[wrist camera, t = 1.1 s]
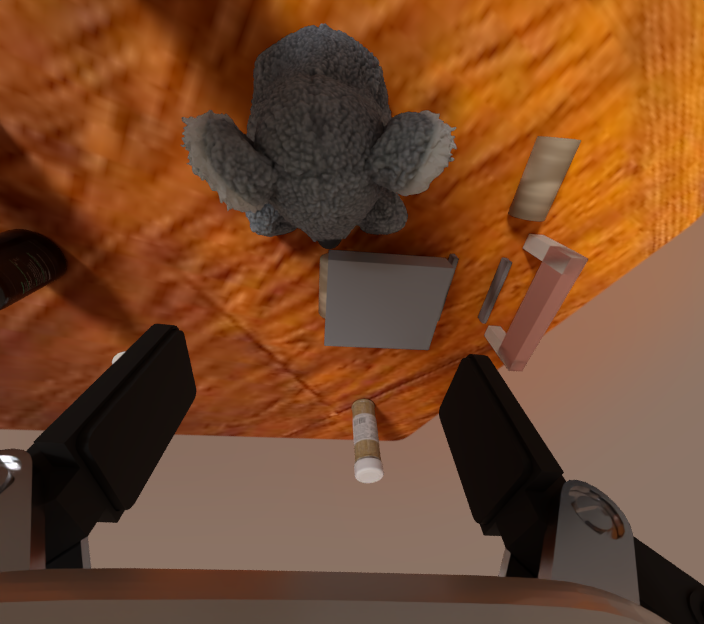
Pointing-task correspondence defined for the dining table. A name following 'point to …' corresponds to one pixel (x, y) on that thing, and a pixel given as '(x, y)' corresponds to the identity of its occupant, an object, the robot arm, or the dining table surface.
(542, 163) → the roller
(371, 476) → the sprinkles bottle
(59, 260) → the supplement bottle
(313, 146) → the koala plush
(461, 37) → the dining table surface
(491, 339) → the pink u-shaped frame
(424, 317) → the slab
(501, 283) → the track
